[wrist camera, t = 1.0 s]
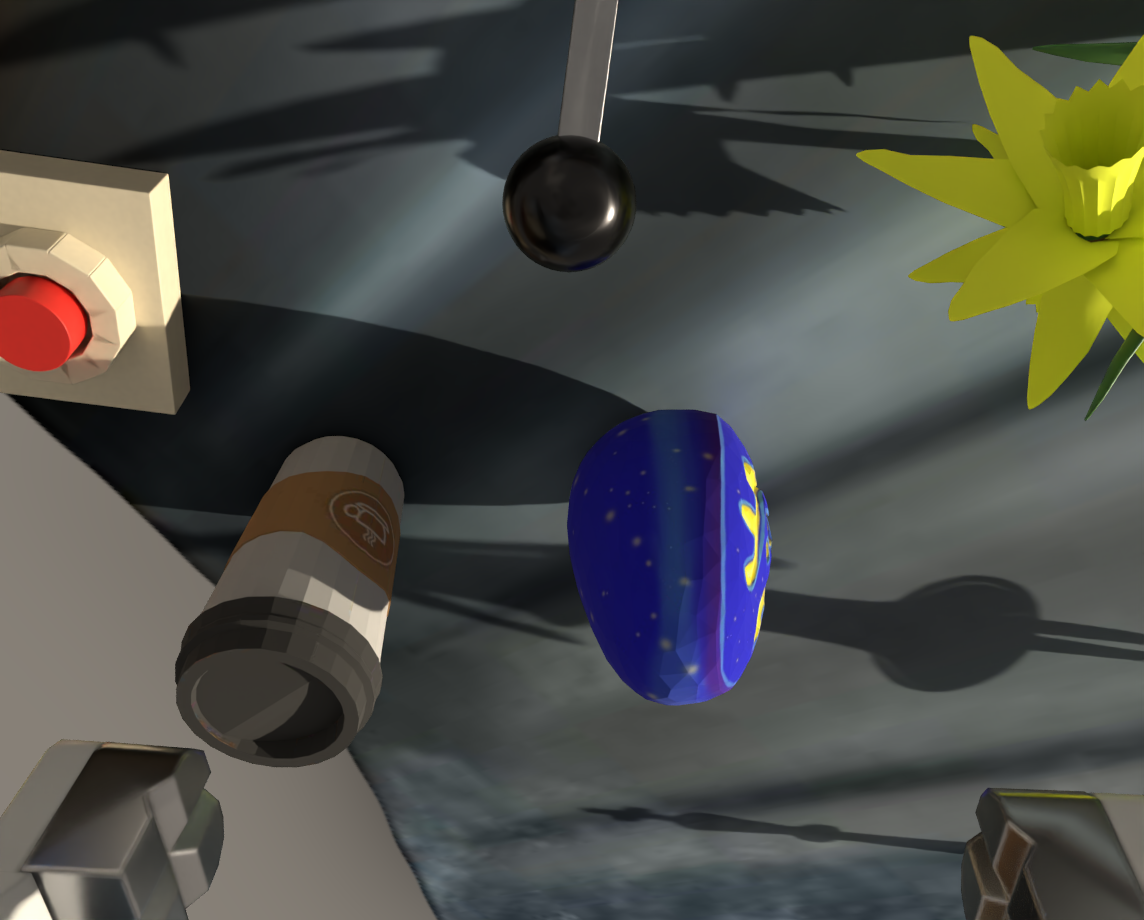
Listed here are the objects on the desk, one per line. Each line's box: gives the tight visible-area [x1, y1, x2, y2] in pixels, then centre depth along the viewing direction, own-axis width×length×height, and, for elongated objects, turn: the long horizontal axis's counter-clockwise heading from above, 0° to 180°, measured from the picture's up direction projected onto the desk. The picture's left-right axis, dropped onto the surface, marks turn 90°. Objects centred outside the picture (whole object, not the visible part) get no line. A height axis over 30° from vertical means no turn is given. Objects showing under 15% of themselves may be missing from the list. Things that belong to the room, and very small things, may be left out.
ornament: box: [567, 410, 772, 705], centre depth 45 cm, size 11×9×15 cm
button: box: [0, 276, 88, 371], centre depth 42 cm, size 4×4×2 cm
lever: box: [502, 0, 636, 272], centre depth 26 cm, size 13×4×4 cm, turn 172°
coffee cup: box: [175, 436, 404, 767], centre depth 46 cm, size 8×8×15 cm
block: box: [0, 150, 190, 415], centre depth 44 cm, size 11×9×4 cm
